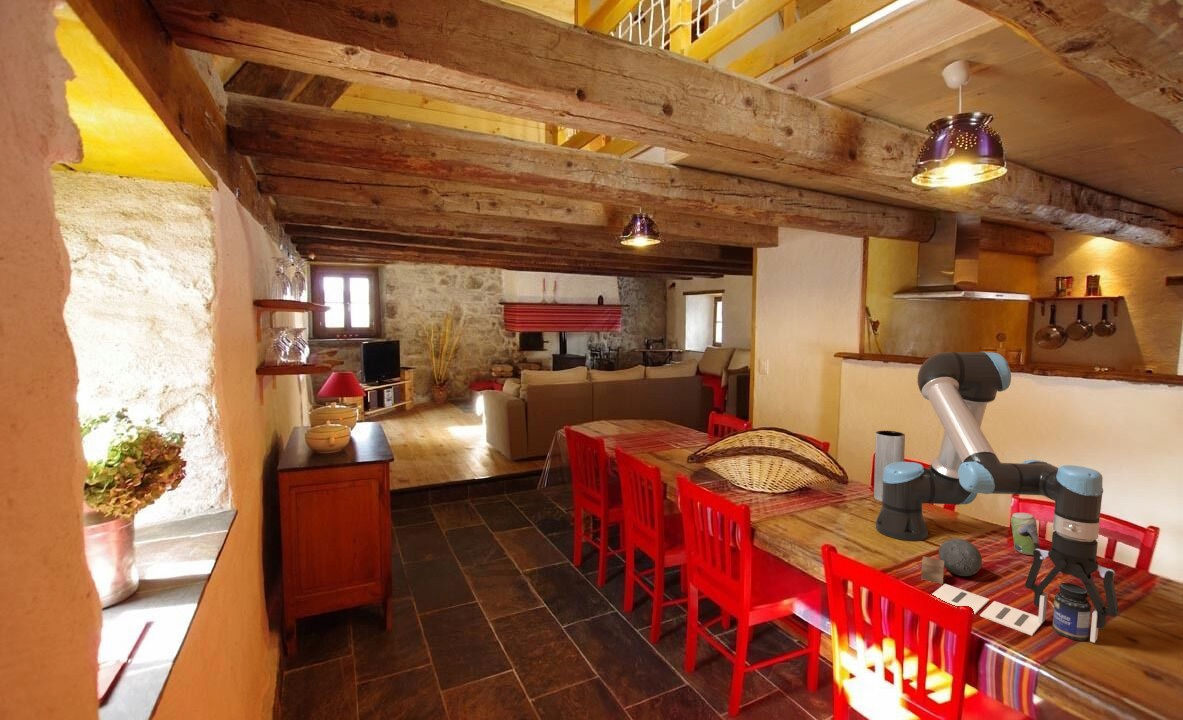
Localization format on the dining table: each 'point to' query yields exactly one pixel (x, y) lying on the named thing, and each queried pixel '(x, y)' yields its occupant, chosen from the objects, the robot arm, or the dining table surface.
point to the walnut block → (932, 570)
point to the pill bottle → (1072, 612)
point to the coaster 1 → (960, 597)
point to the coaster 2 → (1012, 618)
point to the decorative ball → (960, 557)
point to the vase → (886, 456)
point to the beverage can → (1024, 533)
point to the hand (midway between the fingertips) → (1066, 629)
